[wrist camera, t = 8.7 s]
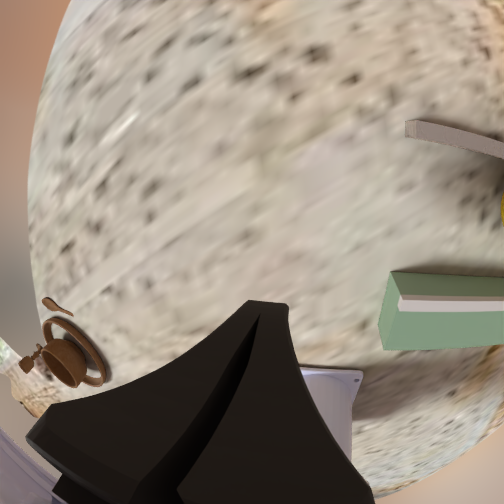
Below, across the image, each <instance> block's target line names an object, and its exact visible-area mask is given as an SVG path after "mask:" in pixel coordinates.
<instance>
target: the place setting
mask: <svg viewBox="0 0 504 504" xmlns="http://www.w3.org/2000/svg"><path fill="white" fill-rule="evenodd" d="M42 303H43V304H44V305H45V306H46V307H47V308H48V309H49V310H51V311H61V312H64V313H66V314H68V315H71V316H73V313H71V312H69V311H67V310H64V309H62V308H60V307H58V306H57V305H56V303H55V302H54V301H52V300H51V299H48V298H44V299H42ZM73 317H74V316H73ZM52 323H54V324H57V325H59V326H60V327H62V328H63V329H65V330H66V331H67V332H69V333H70V334H71V335H72V336H73V337H74V338H75V339H76V340H77V341H78V342H79V343H80V344H81V345H82V346H83V347H84V348H85V349H86V351H87V352H88V353H89V354H90V356H91V357H92V359H93V360H94V362H95V363H96V365H97V367H98V368H99V371H100V373H101V377H100V378H93V377H90V376H87V375H86V373H87V367H86V363H85V357H84V354H83V353H82V351H81V350H80V349H79V348H78V347H77V346H76V345H75V344H74V343H73V342H71V341H68V340H66V341H65V340H63V339H53V337H52V333H51V325H52ZM42 331H43V335H44V338H45V341H46V343H47V345H46V346H45V347H44V348H43V347H42V346H41V345H40V344H38V343H37V344H36V347H37V349H38V351H36V352H34V354H33V356H31V358H30V357H29V356H26V357H24V358H23V359H22V360H21V361H20V362H19V363H18V364H19V366H20V368H21V369H22V370H23V371H24V372H25V373H26V374H27V373H29V372H30V370H31V369H32V368H33V367H34V361H33V360H35V358H37V357H39V354H41V355H42V358H43V360H44V362H45V364H46V365H47V367H48V368H49V369H50V371H51V372H52V373H53V374H54V375H55V376H56V377H57V378H58V379H59V380H60V381H61V382H63V383H64V384H65V385H67V386H69V387H71V388H77V387H78V385H79V384H80V383H81V382H83V383H85V384H87V385H90V386H93V387H100V386H102V385H103V383H104V382H105V379H106V370H105V367H104V364H103V362H102V360H101V358H100V357H99V355H98V353H97V352H96V351H95V349H94V348H93V347H92V345H91V344H90V343H89V342H88V341H87V340H86V338H85V337H84V336H83V335H82V334H81V333H80V332H79V331H77V330H76V329H75V328H74V327H73V326H71V325H70V324H68V323H67V322H65V321H63V320H61V319H58V318H50V319H48V320H46V321H45V322H44V323H43V326H42Z"/></svg>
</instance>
